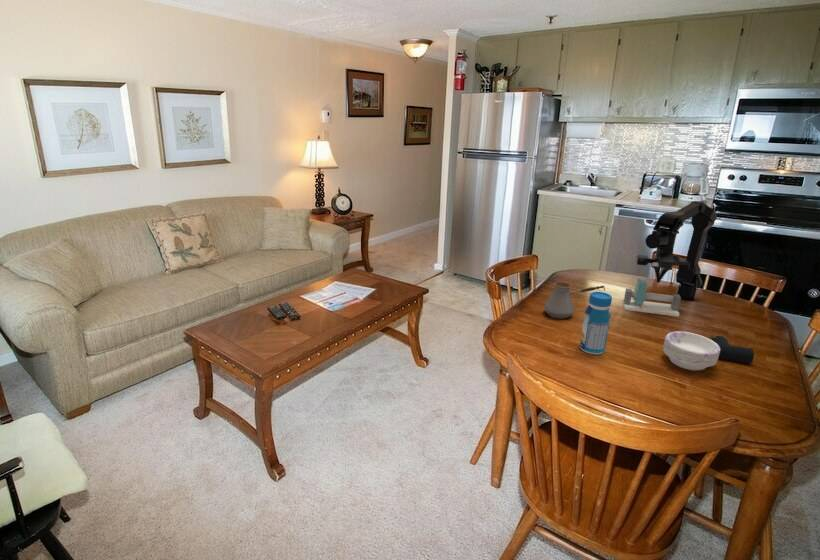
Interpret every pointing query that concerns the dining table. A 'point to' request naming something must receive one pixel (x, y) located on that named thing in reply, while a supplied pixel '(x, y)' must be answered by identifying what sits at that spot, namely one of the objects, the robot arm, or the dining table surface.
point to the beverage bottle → (596, 323)
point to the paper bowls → (691, 350)
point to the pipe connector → (732, 350)
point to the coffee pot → (563, 300)
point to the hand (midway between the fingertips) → (657, 282)
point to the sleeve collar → (640, 291)
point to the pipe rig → (653, 303)
